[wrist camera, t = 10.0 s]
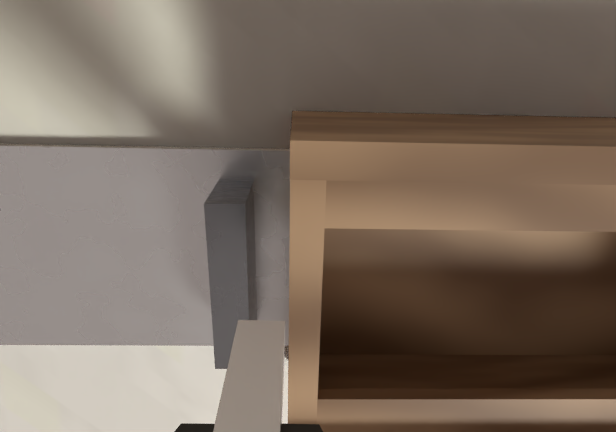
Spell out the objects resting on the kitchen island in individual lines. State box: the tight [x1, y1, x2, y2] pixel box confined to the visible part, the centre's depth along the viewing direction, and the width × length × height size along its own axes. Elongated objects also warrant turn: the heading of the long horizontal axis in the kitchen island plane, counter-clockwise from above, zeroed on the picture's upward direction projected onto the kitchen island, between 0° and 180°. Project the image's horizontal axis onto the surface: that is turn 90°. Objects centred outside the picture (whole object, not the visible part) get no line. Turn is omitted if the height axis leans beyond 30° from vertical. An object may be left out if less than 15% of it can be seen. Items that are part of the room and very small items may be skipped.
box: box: [288, 111, 616, 432], centre depth 18 cm, size 14×20×7 cm
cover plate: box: [0, 144, 290, 369], centre depth 20 cm, size 11×17×4 cm, turn 89°
